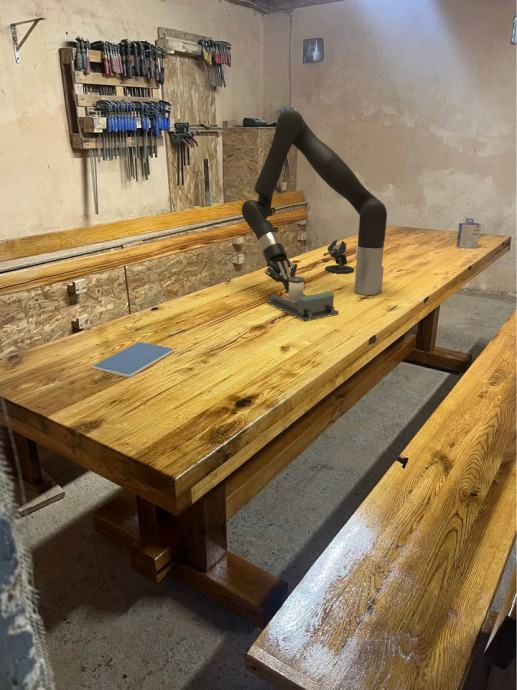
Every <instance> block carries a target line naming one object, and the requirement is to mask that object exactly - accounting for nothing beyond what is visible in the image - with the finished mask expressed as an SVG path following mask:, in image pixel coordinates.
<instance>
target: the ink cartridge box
mask: <svg viewBox="0 0 517 690" xmlns="http://www.w3.org/2000/svg"><path fill="white" fill-rule="evenodd" d="M481 228H482V224H481V223H478V222H474V218H466V220H465V222H459V224H458V231H457V239H456V247H457V248H459V249H468V248H469V249H477V248H478V247H479V241H480V234H481Z"/></svg>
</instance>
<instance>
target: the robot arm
mask: <svg viewBox="0 0 517 690" xmlns="http://www.w3.org/2000/svg"><path fill="white" fill-rule="evenodd" d="M292 146H294V147H295V148H296V149H297V150H299V152H301V154H302V155H303V156H304V158H306V160H307V162H308V163H309V165H310V166H311V167H312V169H313V170H314V171H315V173H316V174H318V176H319V177H320V178H321V179H322V181H324V182H325V184H326V185H328V186H329V187H330V188H331V190H332V189H333V191H335V192H336V193H337V194H338V195H340V196H341V197H343V198H344V199H345V200H347V201H348V203H350V204H351V206H352V207H353V208H354V209H355V211H356V213H357V214H358V215H359V224H358V236H357V242H358V249H357V258H356V262H355V263H356V264H355V278H354V279H355V280H354V292H355V293H356V294H359V295H363V296H375V295H378V294H380V293H382V290H383V278H384V277H383V276H384V269H385V268H384V266H383V259H384V258H383V257H384V247H385V245H384V244H385V239H386V230H387V229H386V228H387V218H388V212H387V211H388V210H387V207H386V205H385V204H384V203H383V202H382V201H381V200H379V199H378V197H376V196H374V194H372V192H370V191H369V190H367V188H366V187H365V186H364V185H363V184H362V183H361V181H360V180H359V179H358V177H357V176H356V174H355V173H354V172H353V171H352V169H351V168H350V166H349V165H348V164H346V162H345V161H344V160H343V159H342V158H341V157H340V156H339V155H338V154H337V153H336V152H335V150H333V149H332V148H331V147H330V146H328V145H327V144H326V143H325V142H323V141H322V140H321V139H319V138H318V137H317V136H316V134H315V133H314V132H313V130H312V129H311V128H310V127H309V126H308V124H307V123H306V121H305V120H304V118H303V116H302V115H301V113H300V112H298V111H297V110H295V109H286V110H284V111H282V112H281V113H280V114H279V115H278V116H277V120H276V127H275V131H274V135H273V139H272V142H271V146H270V149H269V152H268V154H267V156H266V159H265V161H264V163H263V166H262V167H261V170H260V173H259V175H258V177H257V180H256V182H255V185H254V192H255V193H256V194H257V195H258V196H257V197H258V198H257V200H255V199H247V200H245V201H244V202H243V203H242V206H241V214H242V217H243V220H244V221H245V222H246V224H247V225H248V226H249V228H250V229H251V230H252V232H253V233H254V235H255V238H256V239H257V243H259V244H258V245H259V248H260V251H261V252H262V255H263V257H264V259H265V261H266V264H267V266H268V267H267V269H266V270H265V271H264V273H265V275H267V276H268V277H269V278H271V279H272V280H273V281H275V282H276V283H282V285H283V286H284V289H285V290H286V292H288V293H289V281H288V278H289V277H296V276H295V275H296V272H297V268H298V264H297V263H294V264H293V263H291V261H290V260H289V259H288V256H287V252H286V250H285V248H284V245H283V243H282V241H281V239H280V237H279V236H278V234H277V232H276V230H275V228H274V226H273V223H272V222H271V221H269V220H267V219H268V217H269V216H270V213H271V208H272V201H273V194H274V192H275V189H276V187H277V185H278V182H279V180H280V177H281V174H282V172H283V168H284V164H285V161H286V159H287V156H288V154H289V152H290V150H291V148H292Z"/></svg>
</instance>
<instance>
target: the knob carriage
mask: <svg viewBox="0 0 517 690" xmlns="http://www.w3.org/2000/svg"><path fill="white" fill-rule="evenodd" d="M288 281H289V292H288V296H287V297H288V298H285V297H282V298H283V299H285V300H288V301H290V302H292V303H294V304H297V305H298V297H302V296H303V294H304V292H305V291H304V290H305V289H304V286H305V284H304V283H305V277H303V276H294V277H289V278H288Z"/></svg>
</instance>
